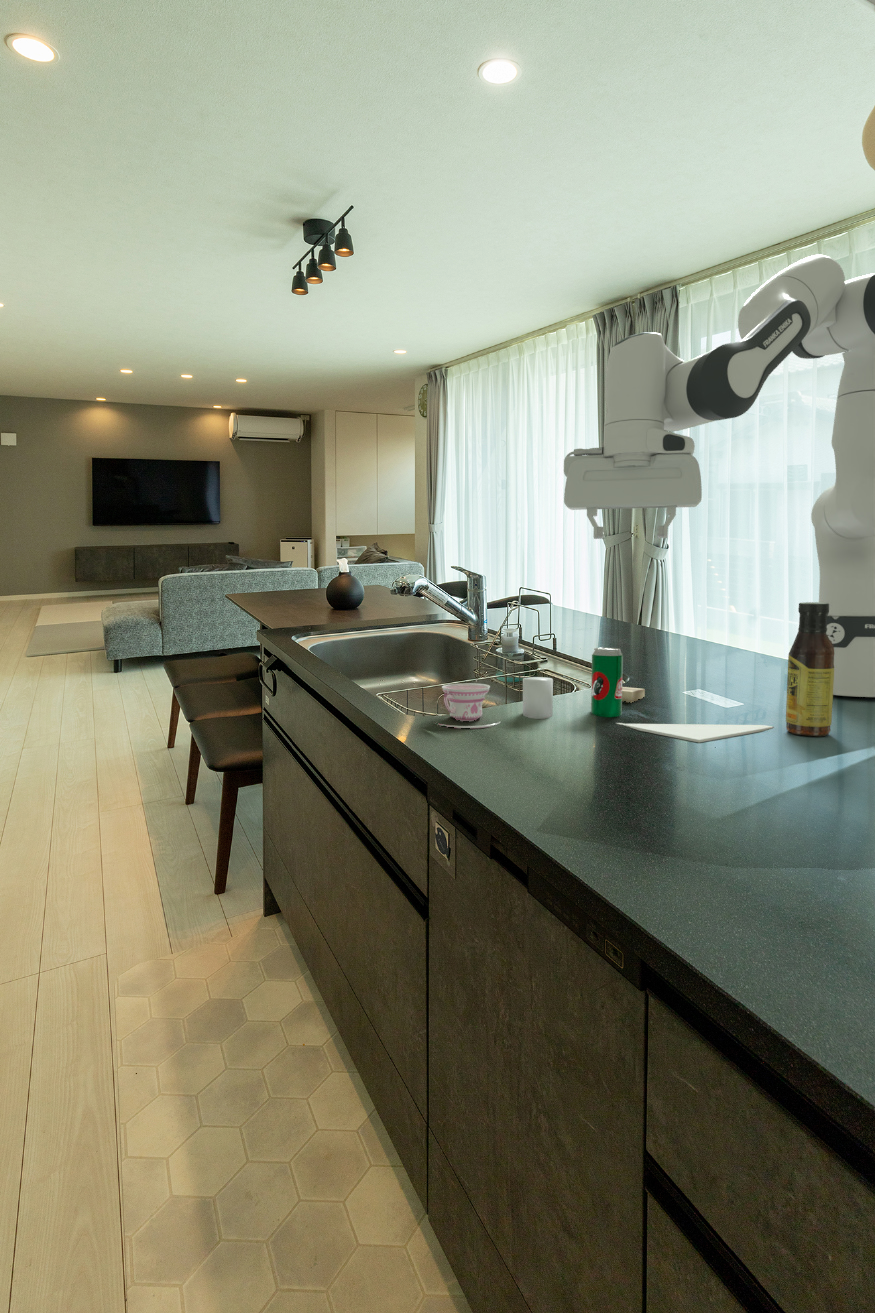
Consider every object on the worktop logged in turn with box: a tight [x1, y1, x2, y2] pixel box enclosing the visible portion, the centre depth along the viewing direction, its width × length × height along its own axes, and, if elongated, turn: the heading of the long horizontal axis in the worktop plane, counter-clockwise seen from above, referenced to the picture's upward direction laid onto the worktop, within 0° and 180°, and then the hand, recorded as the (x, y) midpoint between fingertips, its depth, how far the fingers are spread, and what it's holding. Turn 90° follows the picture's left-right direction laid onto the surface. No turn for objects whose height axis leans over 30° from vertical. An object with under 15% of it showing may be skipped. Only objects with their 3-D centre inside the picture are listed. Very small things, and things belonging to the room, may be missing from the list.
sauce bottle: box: [785, 601, 834, 737], centre depth 111 cm, size 6×6×20 cm
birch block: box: [622, 686, 646, 704], centre depth 134 cm, size 5×5×4 cm
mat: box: [616, 722, 774, 743], centre depth 118 cm, size 18×18×1 cm
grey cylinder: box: [522, 676, 554, 720], centre depth 124 cm, size 5×5×7 cm
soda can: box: [590, 647, 624, 718], centre depth 124 cm, size 5×5×12 cm
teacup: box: [437, 682, 501, 730], centre depth 122 cm, size 12×12×6 cm
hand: (630, 538), depth 113 cm, fingers open, 8 cm apart
